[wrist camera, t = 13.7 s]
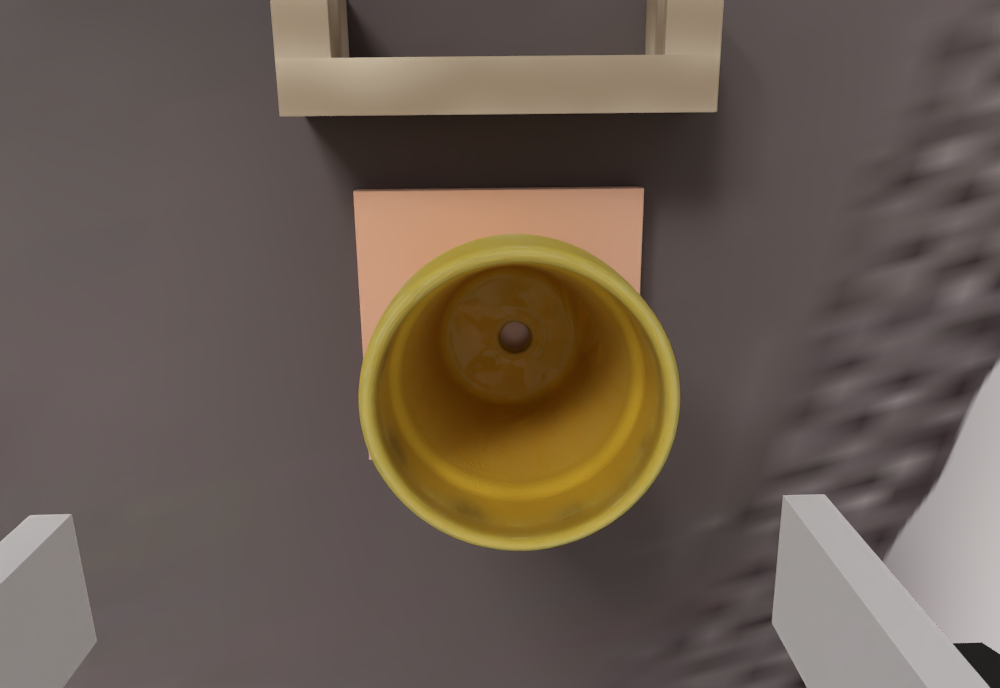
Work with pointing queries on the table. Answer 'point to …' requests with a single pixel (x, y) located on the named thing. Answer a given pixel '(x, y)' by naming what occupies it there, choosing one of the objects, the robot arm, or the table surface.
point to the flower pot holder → (496, 70)
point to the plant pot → (518, 394)
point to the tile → (486, 233)
